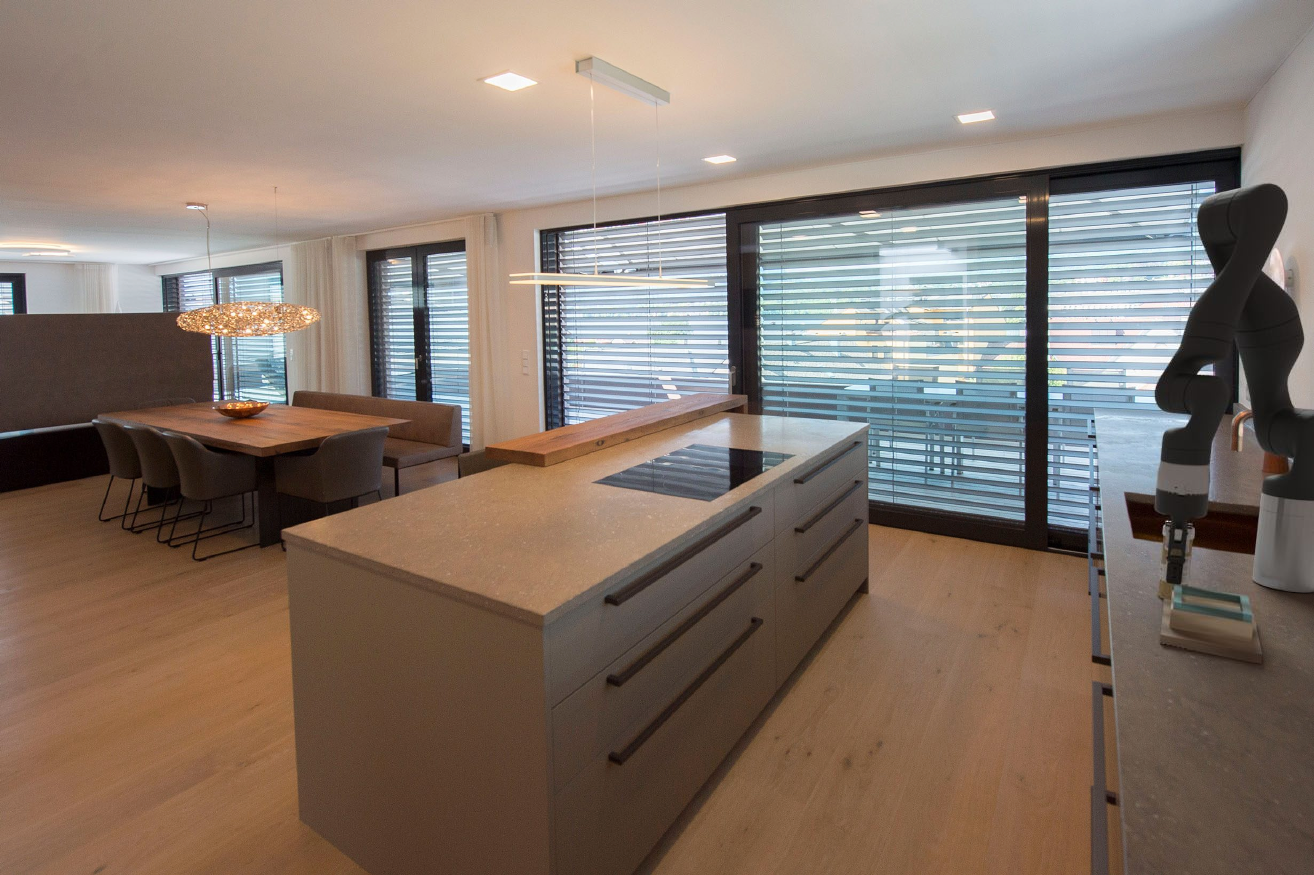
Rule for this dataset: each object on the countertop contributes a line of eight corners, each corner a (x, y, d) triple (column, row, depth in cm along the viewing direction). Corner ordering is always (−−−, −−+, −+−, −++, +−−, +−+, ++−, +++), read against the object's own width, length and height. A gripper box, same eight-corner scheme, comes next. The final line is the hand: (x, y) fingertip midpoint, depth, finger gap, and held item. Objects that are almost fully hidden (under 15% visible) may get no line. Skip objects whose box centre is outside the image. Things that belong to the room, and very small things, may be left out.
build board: (1163, 606, 124) (1166, 575, 123) (1252, 622, 116) (1256, 589, 116) (1159, 643, 109) (1163, 608, 109) (1261, 664, 102) (1265, 626, 101)
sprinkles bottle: (1159, 591, 131) (1165, 521, 129) (1189, 597, 128) (1196, 525, 126) (1155, 598, 127) (1161, 526, 125) (1186, 605, 124) (1193, 531, 122)
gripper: (1157, 478, 132) (1150, 562, 135) (1154, 492, 121) (1146, 584, 123) (1208, 482, 128) (1199, 570, 130) (1210, 498, 117) (1200, 593, 119)
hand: (1173, 577), depth 127 cm, fingers open, 7 cm apart
